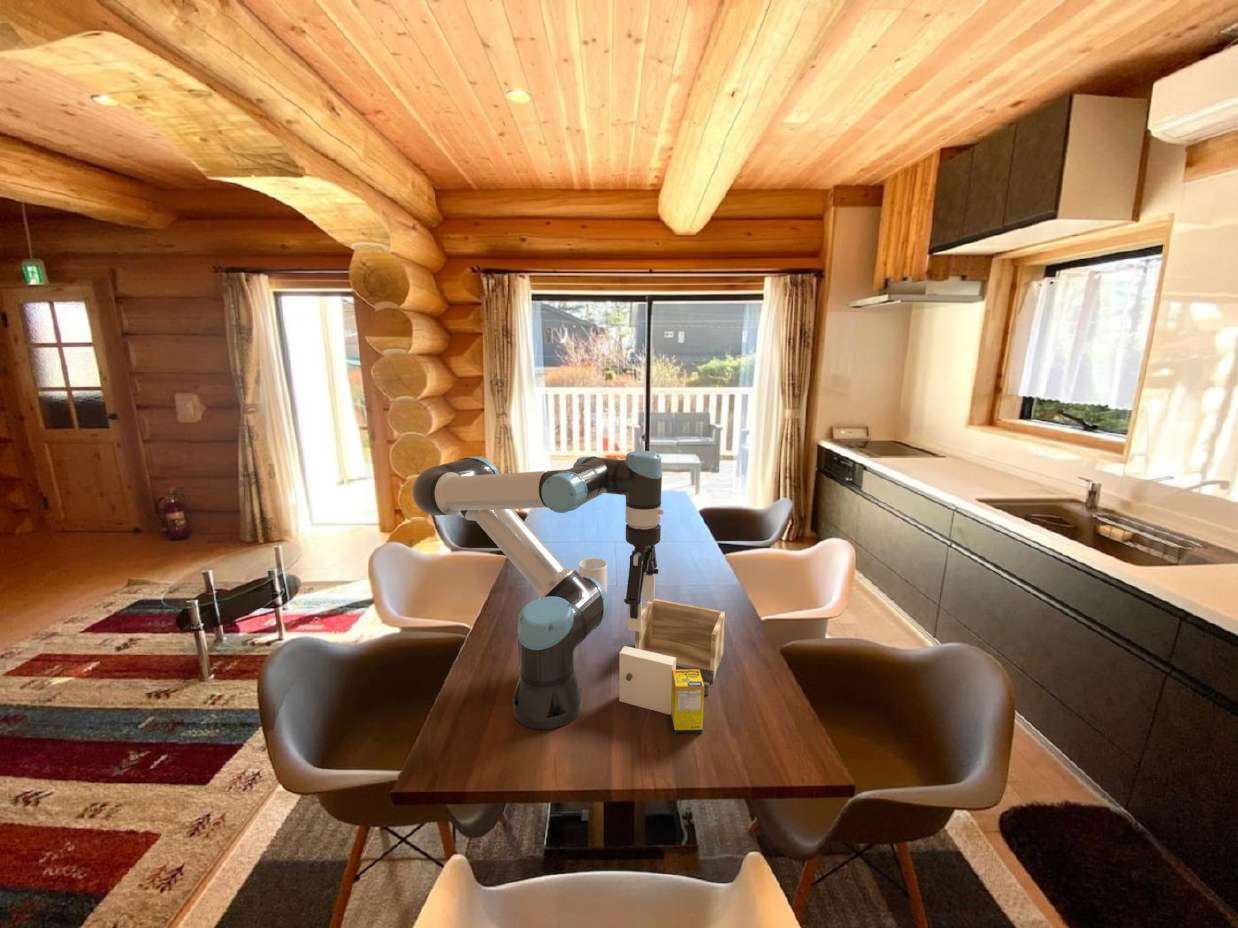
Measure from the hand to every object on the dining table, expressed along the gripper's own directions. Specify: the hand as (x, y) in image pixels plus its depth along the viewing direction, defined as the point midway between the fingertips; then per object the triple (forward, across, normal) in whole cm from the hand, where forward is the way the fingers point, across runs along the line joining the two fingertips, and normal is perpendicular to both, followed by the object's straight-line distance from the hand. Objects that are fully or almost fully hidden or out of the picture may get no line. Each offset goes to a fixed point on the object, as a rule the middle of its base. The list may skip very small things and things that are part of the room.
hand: (642, 614), depth 115 cm
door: (+19, -4, -2) cm, 20 cm away
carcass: (+19, +14, -6) cm, 25 cm away
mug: (+20, +44, +26) cm, 55 cm away
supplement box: (+20, -8, -12) cm, 24 cm away
